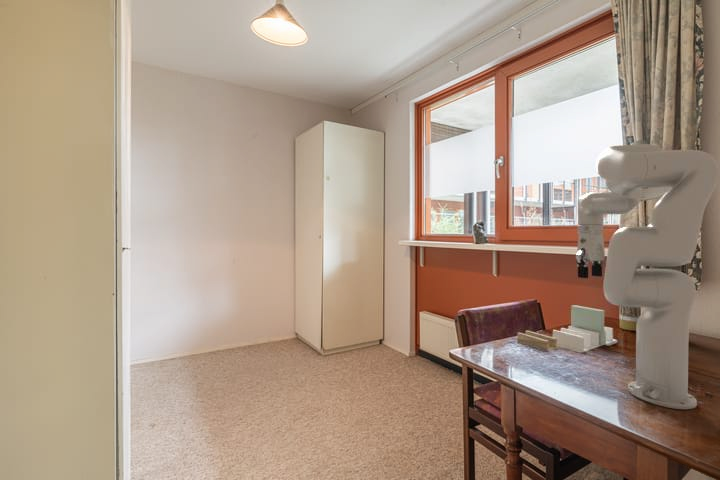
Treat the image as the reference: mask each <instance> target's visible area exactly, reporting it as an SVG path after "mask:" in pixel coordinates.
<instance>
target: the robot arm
mask: <svg viewBox="0 0 720 480" xmlns="http://www.w3.org/2000/svg"><path fill="white" fill-rule="evenodd" d="M596 159H597V160H596V163H595V165H596V166H595V168H596V172H597V173H598V176H599V177H601V179H604V180H605V181H604V182H605V187H606V188H607V189H608V191H602V192H598V191H597V192H589V193H586V194H584V195H582V196H580V197H579V198H578V201H577V235H578V239H577V250H576V251H577V253H576V254H575V259H576V260H575V261H576V263H577V265H576V266H577V278H580V279H581V278H582V279H588V278H589V266H588V264H589V262H591V263H592V264H591V276H592V277H603V276H604V277H603V286H602V287H603V294H604V297H605V299H606V301H607V302H609V303H610V304H611V305H614V306H617V307H620V306H625V307H641V308H645V309H644V310H643V311H641V315H640V316H639V318H638V321H637V325H636V331H635V332H636V333H635V334H636V338H635V341H636V342H635V348H636V349H635V380H633V381H630V382H628V383H627V390H628V391H629V393H630V394H631V395H633V396H635V397H636V398H638V399H640V400H642V401H645V402H647V403H650V404H652V405H657V406H659V407H660V406H661V407H664V408H668V409H674V410H675V409H676V410H692V409H695V408H697V407H698V406H697V405H698V400H697V399H696V397H694V396H693V395H692V394H690V393H688V392H689V391H688V389H689V388H688V387H689V338H690V337H689V335H690V334H689V332H690V317H691V312H692V308H693V304H694V301H695V297H696V293H697V292H696V289H697V288H696V284H695V282H694V280H693V279H692V277H690V276H689V274H688V275H687V274H685V272H682V271H676V270H670V269H654V268H650V269H646V268H639V267H646V266H650V267H653V266H680V267H681V266H685V264H687V263H688V264H689V263H690V262H691V261H692V260H693V257H694V256H695V253H696V249H697V247H698V246H697V244H698V241H699V236H700V232H701V229H702V228H701V227H702V224H703V219H704V218H703V217H704V213H705V210H706V207H707V204H708V202H709V201H710V200H711V196H712V194H713V193H714V191H715V190H716V187H717V184H718V180H719V174H720V173H719V171H720V169H719V165H718V162H717V160H716V159H715V157H714V156H713V155H712V154H710V153H708V152H706V151H702V150H696V149H670V150H664V149H663V148H662V147H660V146H658V145H654V144H649V143H643V144H642V143H641V144H640V143H639V144H627V145H626V144H625V145H624V144H623V145H622V144H621V145H613V146H609V147H607V148H605V149H604V150H603V151H602V152H601V153H600V154H599V155H598V157H597V158H596ZM668 187H670V188H671V189H669V190H668V191H667V192H665V193H664V194H663V195H662V196H661V197H660V198H659V200H657V201H656V202H655V205H654V206H653V209H652V213H651V219H650V223H649V224H648V225H647V226H645V225H644V226H640V225H639V226H626V227H621V228H619V229H618V230H616V231H615V232H614V233H613V234H612V236H611V238H610V240H609V243H608V244H609V245H608V248H607V255H606V256H605V254H606V253H605V239H604V235H603V234H604V215H623V214H626V213H629V212H631V211H632V210H634V209H635V208H636V207H637V206H638V205H639V204H640V203H641V201H642V197H643V188H668ZM605 257H606V264H605V268H604V275H603V264H604V263H603V261H604V260H605Z"/></svg>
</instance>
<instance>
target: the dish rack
mask: <svg viewBox="0 0 720 480" xmlns="http://www.w3.org/2000/svg"><path fill="white" fill-rule="evenodd" d="M552 337H553V338H557V347H559V348H560V347H561V348H563V349H567V350H571V351H574V352H578V353H580V354H581V353H584V352H587V351H590V350H593V349H596V348H599V347H602V346H609V347H610V346H612V345H616V344H618V339H615V338H614V328H613V327H609V326H604V344H603V345H599V333H598V332H594V331H590V330H585V329H581V328H577V327H572V326H571V325H568V326H567V328H565V327H561V328H560V330H558V329H557V330H556V329H553V330H552Z"/></svg>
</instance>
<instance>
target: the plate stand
mask: <svg viewBox="0 0 720 480" xmlns="http://www.w3.org/2000/svg"><path fill="white" fill-rule="evenodd" d="M516 335H517V336H516V342H517V343H519V344H524V345H526V346H530V347H534V348H537V349H540V350H541V351H542V350H543V351H546V352H548V351H551V350H555V349H559V348H560V347H559V346H557V338H553V336H549V335H546V334H541V333H538V332H535V331H531V330H525V333H523V332H517V333H516Z"/></svg>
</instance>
